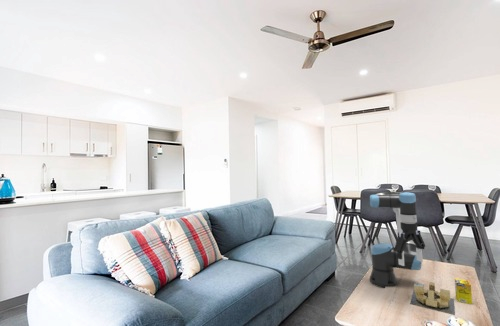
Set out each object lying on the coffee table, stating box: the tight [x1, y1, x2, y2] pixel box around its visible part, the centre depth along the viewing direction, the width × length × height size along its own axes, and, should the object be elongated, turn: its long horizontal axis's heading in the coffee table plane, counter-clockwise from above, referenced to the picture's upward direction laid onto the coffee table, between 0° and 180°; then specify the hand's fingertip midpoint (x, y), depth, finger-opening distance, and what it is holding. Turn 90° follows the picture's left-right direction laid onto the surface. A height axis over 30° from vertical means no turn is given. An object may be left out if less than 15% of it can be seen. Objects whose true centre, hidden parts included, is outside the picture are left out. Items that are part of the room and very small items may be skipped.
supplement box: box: [454, 278, 473, 305], centre depth 132 cm, size 6×6×11 cm
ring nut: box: [413, 281, 451, 308], centre depth 132 cm, size 15×15×7 cm
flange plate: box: [409, 289, 456, 316], centre depth 132 cm, size 18×18×4 cm
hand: (410, 263), depth 134 cm, fingers open, 13 cm apart
